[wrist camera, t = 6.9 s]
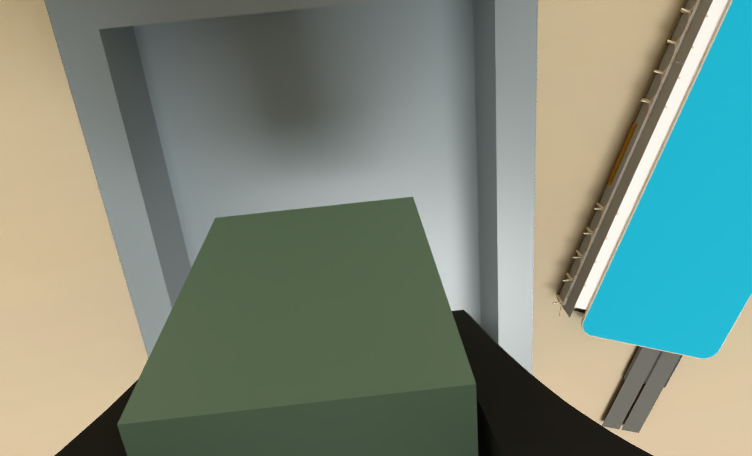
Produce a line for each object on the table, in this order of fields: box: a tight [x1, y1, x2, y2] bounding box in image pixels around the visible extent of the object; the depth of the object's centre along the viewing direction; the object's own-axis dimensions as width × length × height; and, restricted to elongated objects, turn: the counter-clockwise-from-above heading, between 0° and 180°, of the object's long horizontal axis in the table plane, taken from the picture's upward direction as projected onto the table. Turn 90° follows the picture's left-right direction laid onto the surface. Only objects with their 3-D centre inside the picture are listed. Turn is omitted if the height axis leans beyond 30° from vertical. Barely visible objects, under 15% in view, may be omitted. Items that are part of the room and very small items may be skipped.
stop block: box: [117, 197, 478, 456], centre depth 10 cm, size 4×4×6 cm
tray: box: [44, 0, 538, 374], centre depth 18 cm, size 11×14×3 cm
